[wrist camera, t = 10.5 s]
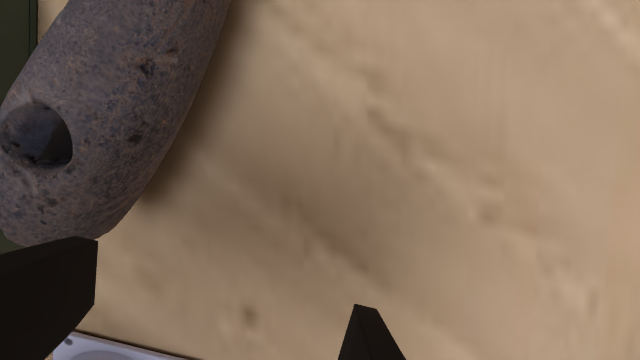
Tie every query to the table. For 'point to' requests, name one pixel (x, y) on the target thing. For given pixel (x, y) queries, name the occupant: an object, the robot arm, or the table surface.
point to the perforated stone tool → (99, 112)
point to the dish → (15, 58)
